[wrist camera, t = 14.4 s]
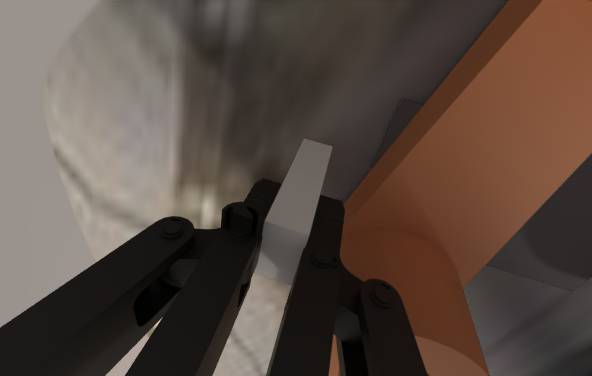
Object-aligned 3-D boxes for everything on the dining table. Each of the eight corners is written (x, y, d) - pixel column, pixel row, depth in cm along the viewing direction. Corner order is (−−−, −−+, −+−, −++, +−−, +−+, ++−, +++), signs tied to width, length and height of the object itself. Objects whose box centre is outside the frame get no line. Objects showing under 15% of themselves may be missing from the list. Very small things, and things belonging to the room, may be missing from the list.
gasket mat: (706, 183, 13) (712, 187, 13) (569, 287, 17) (571, 291, 17) (401, 98, 14) (402, 100, 13) (348, 219, 18) (348, 222, 18)
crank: (431, 439, 14) (282, 387, 15) (413, 302, 21) (309, 268, 21) (1485, -138, 3) (608, -305, 3) (694, -44, 9) (448, -102, 9)
